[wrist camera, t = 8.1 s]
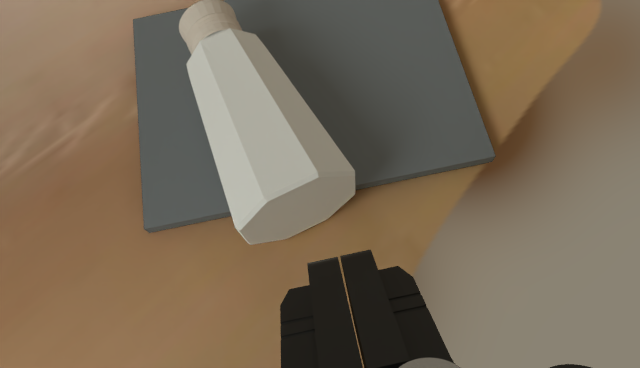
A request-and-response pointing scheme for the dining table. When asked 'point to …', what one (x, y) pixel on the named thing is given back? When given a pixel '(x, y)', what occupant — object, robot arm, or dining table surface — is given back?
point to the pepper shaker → (260, 131)
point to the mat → (313, 97)
